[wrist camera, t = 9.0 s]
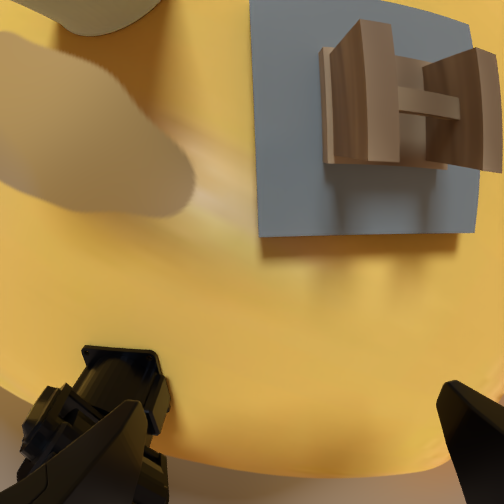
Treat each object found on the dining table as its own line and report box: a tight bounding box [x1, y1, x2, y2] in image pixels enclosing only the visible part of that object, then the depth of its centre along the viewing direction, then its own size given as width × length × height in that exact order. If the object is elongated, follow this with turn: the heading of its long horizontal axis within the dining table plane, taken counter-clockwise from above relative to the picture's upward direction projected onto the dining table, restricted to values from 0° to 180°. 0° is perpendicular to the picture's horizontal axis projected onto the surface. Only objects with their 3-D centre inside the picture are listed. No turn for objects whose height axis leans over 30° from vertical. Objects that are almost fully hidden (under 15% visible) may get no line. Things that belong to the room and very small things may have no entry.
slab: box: [249, 0, 480, 237], centre depth 16 cm, size 14×14×2 cm
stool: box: [318, 19, 503, 173], centre depth 12 cm, size 7×6×6 cm
